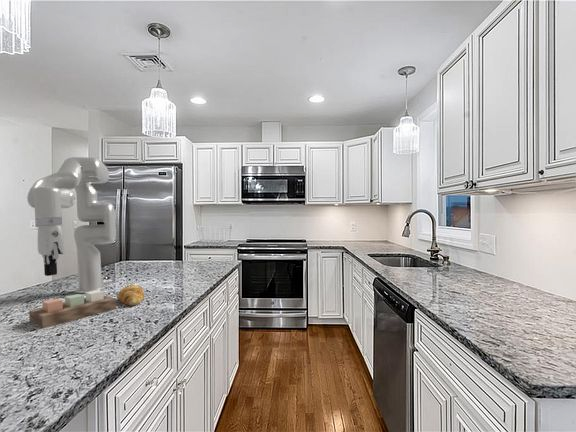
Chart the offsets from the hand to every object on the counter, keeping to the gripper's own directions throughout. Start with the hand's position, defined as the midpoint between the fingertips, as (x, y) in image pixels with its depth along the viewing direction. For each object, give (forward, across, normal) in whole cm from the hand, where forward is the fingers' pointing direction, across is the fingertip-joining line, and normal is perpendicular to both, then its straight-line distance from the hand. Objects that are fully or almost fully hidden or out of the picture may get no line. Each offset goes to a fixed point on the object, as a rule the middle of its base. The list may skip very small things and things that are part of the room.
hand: (50, 274), depth 114 cm
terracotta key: (+13, 0, 0) cm, 13 cm away
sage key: (+13, 0, -7) cm, 15 cm away
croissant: (+16, 0, -28) cm, 33 cm away
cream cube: (+13, 0, -14) cm, 19 cm away
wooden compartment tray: (+16, 0, -7) cm, 18 cm away
